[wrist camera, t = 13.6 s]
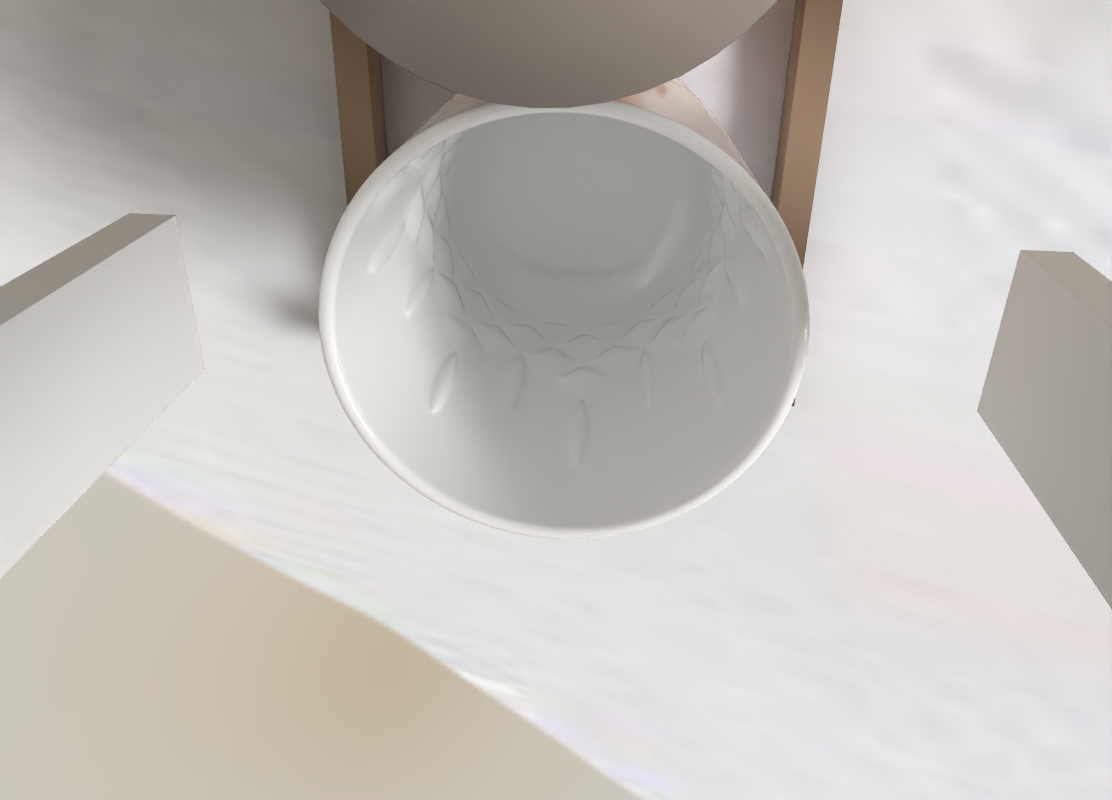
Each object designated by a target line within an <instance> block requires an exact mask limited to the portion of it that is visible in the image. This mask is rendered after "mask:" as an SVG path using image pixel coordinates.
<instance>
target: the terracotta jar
mask: <svg viewBox="0 0 1112 800" xmlns="http://www.w3.org/2000/svg"><path fill="white" fill-rule="evenodd" d="M320 1H321V2H322V3H323V4H324V5H325V6H326V7H327V8H328V9H329V10H330V11H331V12H332V13H333V14H334V15H335V16H336V17H337V18H338V19H339V20H340V21H341V22H342V23H343V24H344V25H345V26H346V27H348V28H349V29H350V30H351V31H352V32H353V33H354V34H355V35H356V36H358V37H359V38H360V39H362V40H363V41H364V42H366V43H367V44H368V45H370V46H371V47H372V48H374V49H375V50H376V51H377V52H379V53H380V54H381V55H383V56H384V57H385V58H387V59H389V60H390V61H392V62H394V63H396V64H397V65H399V66H401V67H402V68H404V69H406V70H408V71H409V72H411V73H413V74H414V75H416V76H418V77H420V78H422V79H424V80H426V81H429V82H431V83H434V84H436V85H438V86H441V87H443V88H445V89H448V90H450V91H453V92H455V93H458V94H462V95H465V96H469V97H473V98H476V99H480V100H484V101H487V102H491V103H496V104H504V105H511V106H519V107H526V108H572V107H579V106H586V105H593V104H600V103H607V102H610V101H614V100H617V99H621V98H624V97H628V96H632V95H635V94H639V93H642V92H645V91H647V90H650V89H652V88H654V87H657V86H659V85H661V84H664V83H666V82H668V81H670V80H673V79H675V78H677V77H680V76H682V75H683V74H685V73H687V72H688V71H690V70H692V69H693V68H695V67H697V66H698V65H700V64H702V63H703V62H705V61H707V60H708V59H710V58H712V57H713V56H715V55H717V54H718V53H719V52H720V51H722V50H723V49H724V48H726V47H727V46H728V45H729V44H731V43H732V42H733V41H735V40H736V39H737V38H738V37H740V36H741V35H742V34H744V33H745V32H746V31H747V30H749V29H750V28H751V27H752V26H753V25H754V24H755V23H756V22H757V21H758V20H759V19H760V18H761V17H762V16H763V15H764V14H765V13H766V12H767V11H768V10H769V9H770V8H771V7H772V6H773V5H774V4H775V3H776V2H777V1H778V0H320Z"/></svg>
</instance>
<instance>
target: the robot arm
mask: <svg viewBox="0 0 1112 800" xmlns="http://www.w3.org/2000/svg"><path fill="white" fill-rule="evenodd" d="M204 370H205V368H204V363H203V357H202V352H201V347H200V341H199V336H198V331H197V326H196V320H195V315H194V310H193V304H192V299H191V294H190V288H189V283H188V278H187V272H186V267H185V262H184V256H183V251H182V246H181V240H180V235H179V230H178V225H177V219H176V215H158V214H134V213H129V214H128V215H126V216H124V217H122V218H121V219H119V220H117V221H115V222H114V223H112V224H110V225H108V226H107V227H105V228H103V229H101V230H100V231H98V232H96V233H94V234H92V235H91V236H89V237H87V238H85V239H84V240H82V241H80V242H78V243H77V244H75V245H73V246H71V247H70V248H68V249H66V250H64V251H63V252H61V253H59V254H57V255H56V256H54V257H52V258H50V259H49V260H47V261H45V262H43V263H42V264H40V265H38V266H36V267H34V268H33V269H31V270H29V271H27V272H26V273H24V274H22V275H20V276H19V277H17V278H15V279H13V280H12V281H10V282H8V283H6V284H5V285H3V286H1V287H0V578H1V577H2V576H3V575H4V574H5V573H6V572H7V571H8V570H9V569H10V568H11V567H12V566H13V565H14V564H15V563H16V562H17V561H18V560H19V559H20V558H21V557H22V556H23V555H24V554H25V553H26V552H27V551H28V550H29V549H30V548H31V547H32V546H33V545H34V544H35V543H36V541H37V540H39V538H40V537H41V536H42V535H43V534H44V533H45V532H46V531H47V530H48V529H49V528H50V527H51V526H52V525H53V524H54V523H55V522H56V521H57V520H58V519H59V518H60V517H61V516H62V515H63V514H64V513H65V512H66V511H67V510H68V509H69V508H70V507H71V506H72V505H73V504H74V503H75V502H76V501H77V500H78V499H79V498H80V497H81V496H82V494H84V492H85V491H86V490H87V489H88V488H89V487H90V486H91V485H92V484H93V483H94V482H95V481H96V480H97V479H98V478H99V477H100V476H101V475H102V474H103V473H104V472H105V471H106V470H107V469H108V468H109V467H110V466H111V465H112V464H113V463H114V462H115V461H116V460H117V459H118V458H119V457H120V456H121V455H122V454H123V453H124V452H125V451H126V450H127V449H128V448H129V447H130V446H131V444H132V443H133V442H134V441H135V440H136V439H137V438H138V437H139V436H140V435H141V434H142V433H143V432H144V431H145V430H146V429H147V428H148V427H149V426H150V425H151V424H152V423H153V422H154V421H155V420H156V419H157V418H158V417H159V416H160V415H161V414H162V413H163V412H164V411H165V410H166V409H167V408H168V407H169V406H170V405H171V404H172V403H173V402H174V401H175V400H176V399H177V398H178V396H179V395H180V394H181V393H182V392H183V391H184V390H185V389H186V388H187V387H188V386H189V385H190V384H191V383H192V382H193V381H194V380H195V379H196V378H197V377H198V376H199V375H200V374H201V373H202V372H203V371H204ZM977 411H978V413H979V414H980V416H981V417H982V419H983V420H984V422H985V423H986V425H987V426H988V428H989V429H990V430H991V432H992V433H993V435H994V436H995V438H996V439H997V441H998V442H999V444H1000V445H1001V447H1002V448H1003V450H1004V451H1005V453H1006V454H1007V455H1008V457H1009V458H1010V460H1011V461H1012V463H1013V464H1014V466H1015V467H1016V469H1017V470H1018V472H1019V473H1020V475H1021V476H1022V478H1023V479H1024V481H1025V482H1026V483H1027V485H1028V486H1029V488H1030V489H1031V491H1032V492H1033V494H1034V495H1035V497H1036V498H1037V500H1038V501H1039V503H1040V504H1041V506H1042V507H1043V509H1044V510H1045V511H1046V513H1047V514H1048V516H1049V517H1050V519H1051V520H1052V522H1053V523H1054V525H1055V526H1056V528H1057V529H1058V531H1059V532H1060V534H1061V535H1062V536H1063V538H1064V539H1065V541H1066V542H1067V544H1068V545H1069V547H1070V548H1071V550H1072V551H1073V553H1074V554H1075V556H1076V557H1077V559H1078V560H1079V562H1080V563H1081V564H1082V566H1083V567H1084V569H1085V570H1086V572H1087V573H1088V575H1089V576H1090V578H1091V579H1092V581H1093V582H1094V584H1095V585H1096V587H1097V588H1098V589H1099V591H1100V592H1101V594H1102V595H1103V597H1104V598H1105V600H1106V601H1107V603H1108V604H1109V606H1110V607H1111V609H1112V282H1111V281H1110V280H1109V279H1107V278H1106V277H1105V276H1103V275H1102V274H1101V273H1099V272H1098V271H1097V270H1096V269H1094V268H1093V267H1092V266H1090V265H1089V264H1088V263H1087V262H1085V261H1084V260H1083V259H1081V258H1080V257H1079V256H1077V255H1076V254H1075V253H1074V252H1055V251H1031V250H1020V254H1019V258H1018V261H1017V265H1016V269H1015V272H1014V276H1013V280H1012V284H1011V287H1010V291H1009V295H1008V298H1007V302H1006V306H1005V309H1004V313H1003V317H1002V321H1001V324H1000V328H999V332H998V335H997V339H996V343H995V347H994V350H993V354H992V358H991V361H990V365H989V369H988V373H987V376H986V380H985V384H984V387H983V391H982V395H981V399H980V402H979V406H978V410H977Z"/></svg>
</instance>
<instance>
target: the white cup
mask: <svg viewBox="0 0 1112 800" xmlns="http://www.w3.org/2000/svg"><path fill="white" fill-rule="evenodd" d="M319 331H320V339H321V346H322V351H323V356H324V360H325V364H326V368H327V371H328V374H329V377H330V380H331V383H332V385H333V388H334V390H335V393H336V395H337V397H338V399H339V401H340V403H341V405H342V407H343V409H344V411H345V413H346V415H347V416H348V418H349V420H350V421H351V423H352V425H353V426H354V428H355V429H356V431H357V432H358V433H359V435H360V436H361V438H362V439H363V440H364V441H365V443H366V444H367V445H368V446H369V448H370V449H371V450H372V451H373V452H374V453H375V455H376V456H377V457H378V458H379V459H380V460H381V461H382V462H383V463H384V464H385V465H386V466H387V467H388V468H389V469H390V470H391V471H392V472H394V473H395V474H396V475H397V476H398V477H399V478H401V479H402V480H403V481H404V482H405V483H407V484H408V485H409V486H411V487H412V488H413V489H415V490H416V491H418V492H419V493H421V494H422V495H424V496H425V497H427V498H428V499H430V500H431V501H433V502H435V503H437V504H438V505H440V506H442V507H444V508H446V509H448V510H450V511H452V512H454V513H456V514H458V515H460V516H463V517H465V518H467V519H470V520H472V521H475V522H478V523H480V524H483V525H486V526H489V527H493V528H496V529H500V530H504V531H508V532H512V533H517V534H522V535H528V536H535V537H544V538H558V539H582V538H596V537H605V536H612V535H618V534H623V533H628V532H632V531H636V530H640V529H644V528H647V527H650V526H653V525H656V524H659V523H662V522H665V521H667V520H670V519H672V518H674V517H677V516H679V515H681V514H683V513H685V512H687V511H689V510H691V509H693V508H695V507H697V506H699V505H700V504H702V503H704V502H705V501H707V500H708V499H710V498H712V497H713V496H715V495H716V494H717V493H719V492H720V491H722V490H723V489H724V488H726V487H727V486H728V485H729V484H731V483H732V482H733V481H734V480H735V479H737V478H738V477H739V476H740V475H741V474H742V473H743V472H744V471H745V470H746V469H747V468H748V467H749V466H750V465H751V464H752V463H753V462H754V461H755V460H756V459H757V458H758V457H759V455H760V454H761V453H762V452H763V451H764V449H765V448H766V447H767V446H768V444H769V443H770V441H771V440H772V439H773V437H774V436H775V434H776V433H777V431H778V430H779V428H780V426H781V425H782V423H783V421H784V419H785V417H786V416H787V414H788V412H789V410H790V407H791V405H792V403H793V401H794V398H795V396H796V393H797V390H798V388H799V385H800V381H801V378H802V375H803V371H804V366H805V362H806V356H807V350H808V341H809V303H808V294H807V288H806V283H805V278H804V273H803V270H802V266H801V262H800V259H799V256H798V253H797V251H796V248H795V245H794V243H793V240H792V238H791V236H790V234H789V232H788V230H787V228H786V226H785V224H784V222H783V220H782V218H781V217H780V215H779V213H778V212H777V210H776V208H775V207H774V205H773V204H772V202H771V201H770V199H769V198H768V196H767V195H766V193H765V192H764V190H763V189H762V187H761V186H760V184H759V183H758V181H757V180H756V178H755V177H754V175H753V174H752V172H751V170H750V169H749V167H748V166H747V164H746V162H745V161H744V159H743V158H742V156H741V154H740V153H739V151H738V150H737V148H736V146H735V145H734V143H733V142H732V140H731V138H730V137H729V135H728V134H727V133H726V131H725V130H724V128H723V127H722V125H721V124H720V123H719V121H718V120H717V119H716V117H715V116H714V114H713V112H712V111H710V110H709V109H708V108H707V106H706V105H705V104H704V103H703V101H702V100H701V99H700V98H699V97H698V95H697V94H696V93H695V92H694V91H693V90H692V89H690V88H689V87H688V86H687V85H686V84H685V83H683V82H682V81H681V80H680V79H679V78H678V77H677V78H675V79H673V80H670V81H668V82H666V83H664V84H661V85H659V86H657V87H654V88H652V89H650V90H647V91H645V92H642V93H639V94H635V95H632V96H628V97H624V98H621V99H617V100H614V101H610V102H607V103H600V104H593V105H586V106H579V107H572V108H526V107H519V106H511V105H504V104H496V103H491V102H487V101H484V100H480V99H476V98H473V97H469V96H465V95H462V94H458V93H457V94H456V95H455V96H454V97H452V98H451V99H450V100H449V101H448V102H447V103H445V104H444V105H443V106H442V107H441V108H440V109H439V110H438V111H437V112H436V113H435V114H434V115H433V116H432V117H431V118H430V119H429V120H428V121H427V122H426V123H424V124H423V125H422V126H421V127H420V128H419V129H418V130H417V131H416V132H415V133H414V134H413V135H412V136H411V137H410V138H409V139H408V140H406V141H405V142H404V143H403V144H402V145H401V146H400V147H399V148H398V149H397V150H395V151H394V152H393V153H392V154H391V155H390V156H389V157H388V158H387V159H386V160H384V161H383V162H382V163H381V164H380V165H379V166H378V167H377V168H376V170H375V171H374V172H373V173H372V174H371V175H370V176H369V177H368V179H367V180H366V181H365V182H364V184H363V185H362V186H361V187H360V189H359V190H358V191H357V193H356V194H355V196H354V197H353V199H352V200H351V202H350V203H349V205H348V207H347V208H346V210H345V212H344V214H343V215H342V217H341V219H340V221H339V223H338V225H337V228H336V230H335V232H334V235H333V237H332V240H331V242H330V245H329V248H328V251H327V255H326V258H325V262H324V266H323V271H322V276H321V283H320V291H319Z"/></svg>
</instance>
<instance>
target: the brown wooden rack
mask: <svg viewBox="0 0 1112 800" xmlns="http://www.w3.org/2000/svg"><path fill="white" fill-rule="evenodd" d="M842 3H843V0H797V1H796V8H795V16H794V24H793V32H792V40H791V48H790V55H789V63H788V71H787V79H786V87H785V95H784V102H783V110H782V118H781V126H780V134H779V142H778V149H777V157H776V165H775V173H774V181H773V189H772V196H771V202H772V204H773V205H774V207H775V208H776V210H777V212H778V213H779V215H780V217H781V218H782V220H783V222H784V224H785V226H786V228H787V230H788V232H789V234H790V236H791V238H792V240H793V243H794V245H795V248H796V251H797V253H798V256H799V259H800V262H801V266H802V270H803V264H804V258H805V251H806V244H807V237H808V231H809V224H810V217H811V211H812V204H813V197H814V191H815V184H816V177H817V170H818V164H819V157H820V150H821V144H822V137H823V130H824V124H825V117H826V110H827V104H828V97H829V90H830V83H831V77H832V70H833V63H834V57H835V50H836V43H837V37H838V30H839V23H840V16H841V10H842ZM330 19H331V30H332V41H333V52H334V63H335V74H336V85H337V96H338V106H339V117H340V128H341V139H342V150H343V161H344V172H345V183H346V194H347V204H348V205H349V203H350V202H351V200H352V199H353V197H354V196H355V194H356V193H357V191H358V190H359V189H360V187H361V186H362V185H363V184H364V182H365V181H366V180H367V179H368V177H369V176H370V175H371V174H372V173H373V172H374V171H375V170H376V168H377V167H378V166H379V165H380V164H381V163H382V162H383V161H384V160H386V159H387V151H386V137H385V122H384V108H383V94H382V79H381V65H380V53H379V52H377V51H376V50H375V49H374V48H372V47H371V46H370V45H368V44H367V43H366V42H364V41H363V40H362V39H360V38H359V37H358V36H356V35H355V34H354V33H353V32H352V31H351V30H350V29H349V28H348V27H346V26H345V25H344V24H343V23H342V22H341V21H340V20H339V19H338V18H337V17H336V16H335V15H334V14H333V13H332V12H331V11H330ZM794 402H795V398H794V401H793V403H792V405H791V406H794Z"/></svg>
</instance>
